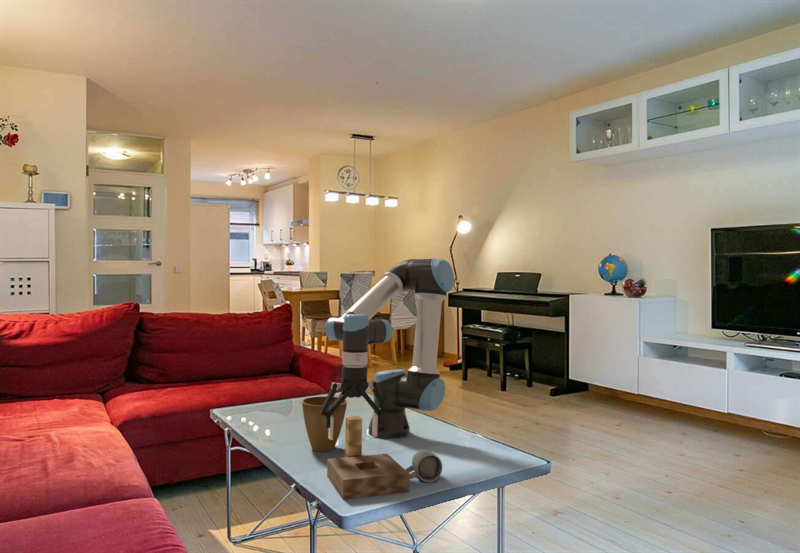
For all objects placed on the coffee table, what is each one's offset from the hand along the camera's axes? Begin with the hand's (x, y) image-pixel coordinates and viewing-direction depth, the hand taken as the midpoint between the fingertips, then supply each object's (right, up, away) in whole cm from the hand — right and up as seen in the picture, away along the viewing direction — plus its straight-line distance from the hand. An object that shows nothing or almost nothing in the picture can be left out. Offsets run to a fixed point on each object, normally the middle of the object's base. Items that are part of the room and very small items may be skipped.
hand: (352, 437), depth 171 cm
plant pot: (-11, -9, +20) cm, 24 cm away
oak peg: (0, -9, 0) cm, 9 cm away
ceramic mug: (+20, -10, -7) cm, 24 cm away
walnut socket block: (+5, -9, -13) cm, 17 cm away
